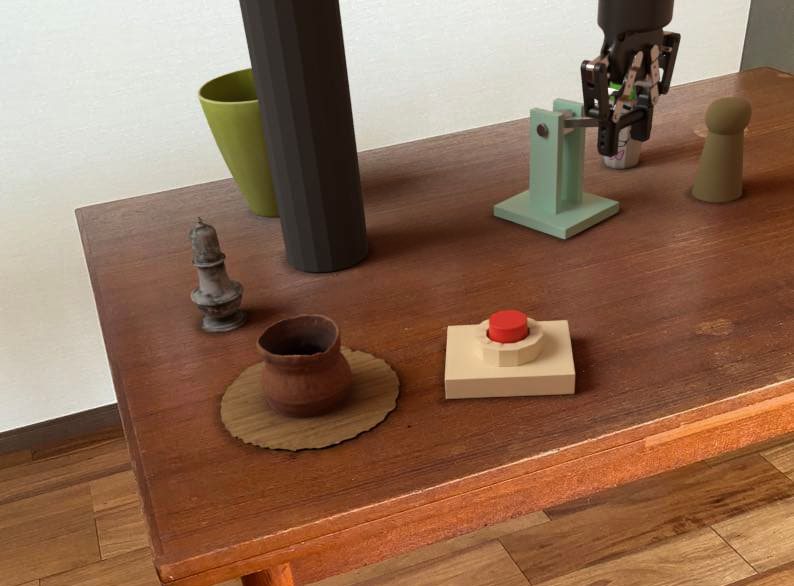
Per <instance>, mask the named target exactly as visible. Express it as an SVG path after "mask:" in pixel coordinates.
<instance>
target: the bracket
mask: <svg viewBox="0 0 794 586" xmlns="http://www.w3.org/2000/svg"><path fill="white" fill-rule="evenodd" d="M563 109H572V115H573V117H575V116H585V111H584V102H580V101H575V100H570V99H565V98H561V97H557V98H555V99H553V100H552V110H550V109H549V110H548V109H545V108H540V107H533V108H531V109H530V110H529V183H528V185H529V186H528V189H526V190H523V191H522V192H520V193H518V194H515V195H514V196H511V197H509V198H507V199H505V200H503V201H501V202H499V203H496V204H495V205H493V216H494V217H497V218H501V219H502V220H503V219H504V220H506V221H509V222H512V223H515V224H518V225H520V226H524V227H527V228H530V229H532V230H535V231H538V232H541V233H544V234H547V235H551V236H554V237H556V238H559V239H562V240H565V241H566V240H568V239H569V238H571V237H573V236H575V235H577V234H579V233H581V232H583V231H585V230H587V229H589V228H590V227H592V226H594V225H596V224H599V223H600V222H602V221H604V220H606V219H608V218H609V217H612V216H614V215H615V214H617V213H619V211H620V202H619V201H617V200H614V199H611V198H608V197H604V196H600V195H597V194H594V193H590V192H586V191H584V173H585V171H584V170H585V154H586V153H585V152H586V132H587V131H586V130H587V129H586V128H587V127H585V128H574V131H572V132H570V133H567V134H565V135H563V130H564V114H562V113H558V112H553V110H563Z"/></svg>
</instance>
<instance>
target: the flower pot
mask: <svg viewBox="0 0 794 586" xmlns="http://www.w3.org/2000/svg"><path fill="white" fill-rule="evenodd" d="M197 97H198V100H199V103H200V105H201V109H202V111H203V114H204V116H205V119H206V121H207V124H208V127H209V129H210V132H211V134H212V137H213V139H214V142H215V144H216V146H217V148H218V150H219V152H220V154H221V156H222V159H223V161H224V162H225V165H226V167H227V168H228V170H229V172H230V174H231V177H232V178H233V180H234V182H235V183H236V186H237V187H238V189H239V191H240V192H241V194H242V196H243V197H244V199H245V200H246V202H247V204H248V205H249V207H250V209H251V211H253V213H254V214H256V215H257V216H260V217H265V218H278V217H279V212H278V206H277V201H276V196H275V190H274V185H273V180H272V174H271V169H270V164H269V158H268V153H267V147H266V142H265V137H264V131H263V126H262V121H261V115H260V110H259V105H258V99H257V94H256V89H255V83H254V78H253V73H252V67H248V68H244V69H239V70H235V71H232V72H228V73H225V74H222V75H219V76H217V77H213V78H212V79H210V80H208V81H206V82H205V83H203V84H202V85H201V87H199V88H198V91H197Z"/></svg>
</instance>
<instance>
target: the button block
mask: <svg viewBox="0 0 794 586" xmlns="http://www.w3.org/2000/svg"><path fill="white" fill-rule="evenodd" d="M572 347H573V346H572V341H571V334H570V327H569V320H568V319H562V320H561V319H560V320H542V321H540V320H539V321H537V320H535V319H534V318H530V317H527V337H526V339H525V340H522V341H520V342H517V343H509V344H502V343H498V342H494V341H492V340H491V339H490V337H489V318H488V319H485V320H483V321H481V323H479V324H461V325H460V324H459V325H448V326H447V334H446V348H445V349H446V352H445V368H444V369H445V370H444V388H445V389H444V390H445V400H457V399H481V398H505V397H508V398H509V397H529V396H532V397H533V396H556V395H558V396H559V395H574V394H575V392H576V391H575V388H576V368H575V362H574V361H575V360H574V355H573V348H572Z"/></svg>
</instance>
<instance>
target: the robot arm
mask: <svg viewBox="0 0 794 586" xmlns="http://www.w3.org/2000/svg"><path fill="white" fill-rule="evenodd" d="M597 1H598V2H597V19H596V22H597V26H598V27H599V29H601V30H602V33H603V35H604V36H603V42H602V45H601V48H600V53H599V55H598V56H597V57H595V58H594V59H593V60H590V59H589V60H588V59H584V60H582V62H581V63H580V80H581V89H582V100H583V103H584V111H585V116H586V117H588V118H593V119H597V120H598V127H597V141H596V148H597V152H598V154H599V155H600V156H603V157H604V156H607V157H613V156H615V155H617V153H618V142H619V129H620V121H618V120H619V119H620V115H621V112H622V108H623V105H624V101H625V100H626V99H628V98H629V97H630V94H631V90H632V88H633V94H634V100H635V101H636V102H637V103H636V104H634V105H633V109H635V108H637V107H642V108H644V110H645V118H644V119H643V120H641V121H639V122H637V123H635V124H633V125H631V134H630V135H631V138H632V139H633V140H636V141H640V142H642V143H645V142H647V141H649V140H650V138H651V132H652V128H653V118H654V109H655V106H656V105H657V104H658V102H659V99H660V96H661V95H663V96H665V95H667V94H668V93H669V91H670V87H671V84H672V79H673V74H674V70H675V65H676V61H677V56H678V52H679V48H680V44H681V38H682V35H681V33H680V32H679V33H678V32H674V31H669V30H664V28H665V27H667V26H668V25H670V23H671V22H672V20H673V18H674V17H673V16H674V8H675V0H597ZM660 69H661V70H662V71H663V72H662V76H661V73H660ZM611 82H612V83H613V84H616V85H621V88H620V89H613V88H611V86H610V83H611ZM644 87H645V88H644ZM611 96H613V97H614V103H613V107H612V109H610V106H609V99H610V97H611ZM596 101H597V105H596Z"/></svg>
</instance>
